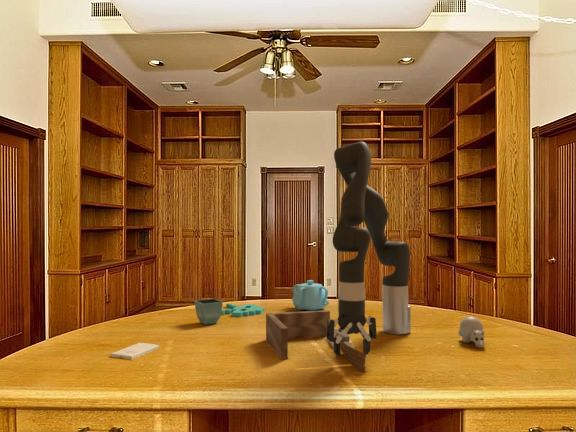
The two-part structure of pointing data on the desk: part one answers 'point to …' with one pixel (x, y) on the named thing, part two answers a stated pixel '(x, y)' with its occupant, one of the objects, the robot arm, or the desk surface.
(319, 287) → the decorative pot
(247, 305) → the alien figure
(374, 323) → the robot arm
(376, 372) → the desk surface
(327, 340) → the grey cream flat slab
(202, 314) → the flower pot
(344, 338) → the grey rectangular block
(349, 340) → the white offcut
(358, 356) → the wood plank
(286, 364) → the desk surface
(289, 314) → the walnut rack
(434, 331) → the desk surface
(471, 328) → the grey animal figurine
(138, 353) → the external hard drive
